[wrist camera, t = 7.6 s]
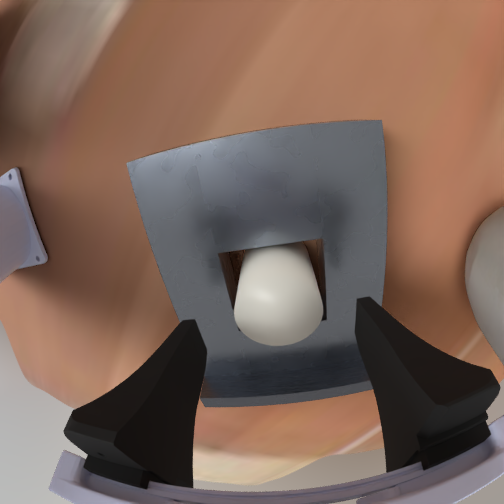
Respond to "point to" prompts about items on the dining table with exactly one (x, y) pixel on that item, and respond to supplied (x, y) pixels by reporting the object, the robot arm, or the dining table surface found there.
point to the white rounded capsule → (278, 295)
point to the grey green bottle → (488, 279)
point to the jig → (267, 234)
